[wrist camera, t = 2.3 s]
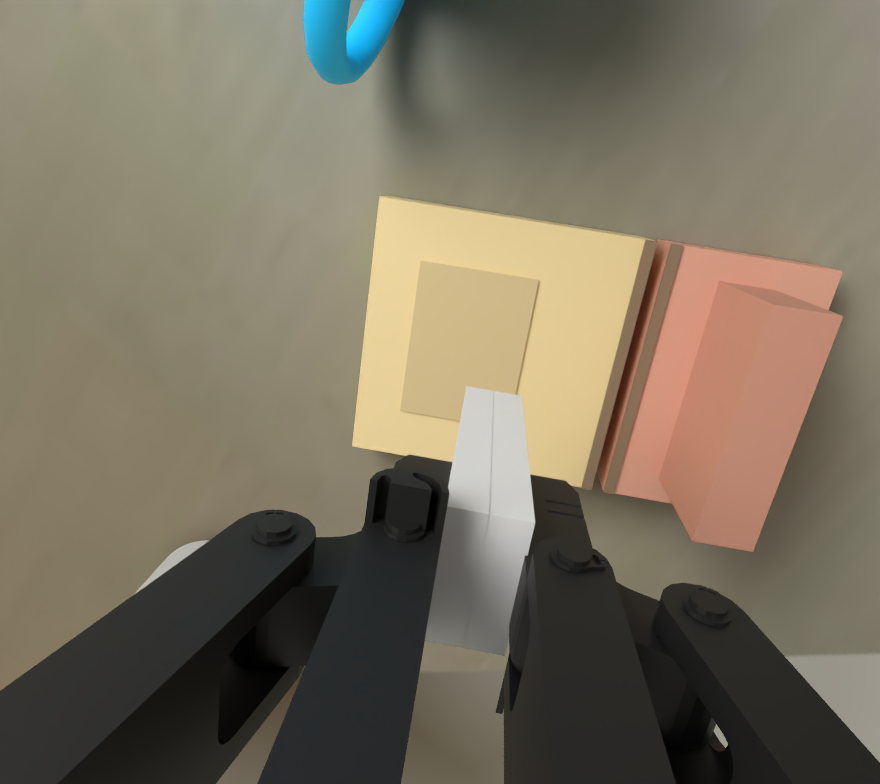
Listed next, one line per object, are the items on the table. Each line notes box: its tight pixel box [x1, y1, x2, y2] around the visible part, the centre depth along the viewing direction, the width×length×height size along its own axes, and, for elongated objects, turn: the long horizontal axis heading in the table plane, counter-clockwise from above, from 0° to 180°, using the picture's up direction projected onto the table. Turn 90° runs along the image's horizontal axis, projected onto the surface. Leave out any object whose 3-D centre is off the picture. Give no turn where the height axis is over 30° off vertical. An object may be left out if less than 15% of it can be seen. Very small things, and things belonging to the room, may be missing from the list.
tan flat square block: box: [352, 196, 657, 490], centre depth 24 cm, size 10×10×2 cm
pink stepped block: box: [597, 239, 843, 552], centre depth 21 cm, size 10×6×6 cm, turn 172°
